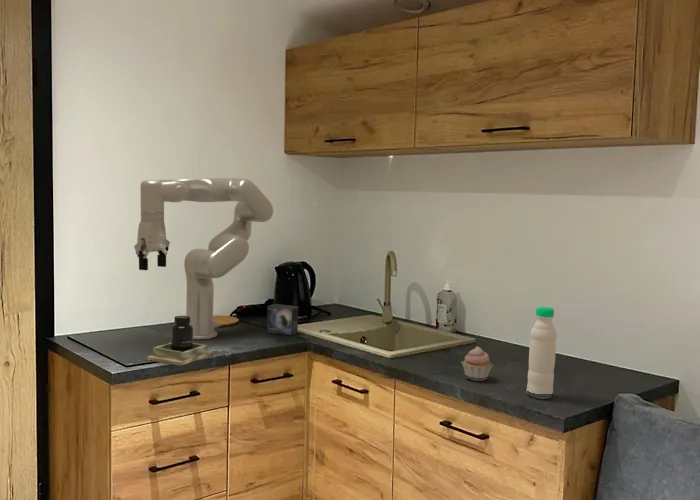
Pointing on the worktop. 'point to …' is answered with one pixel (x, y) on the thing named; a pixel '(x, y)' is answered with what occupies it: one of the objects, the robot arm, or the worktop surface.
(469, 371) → the cupcake
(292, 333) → the small box
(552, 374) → the white milk bottle
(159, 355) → the board
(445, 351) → the worktop surface
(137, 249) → the robot arm
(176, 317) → the supplement bottle
